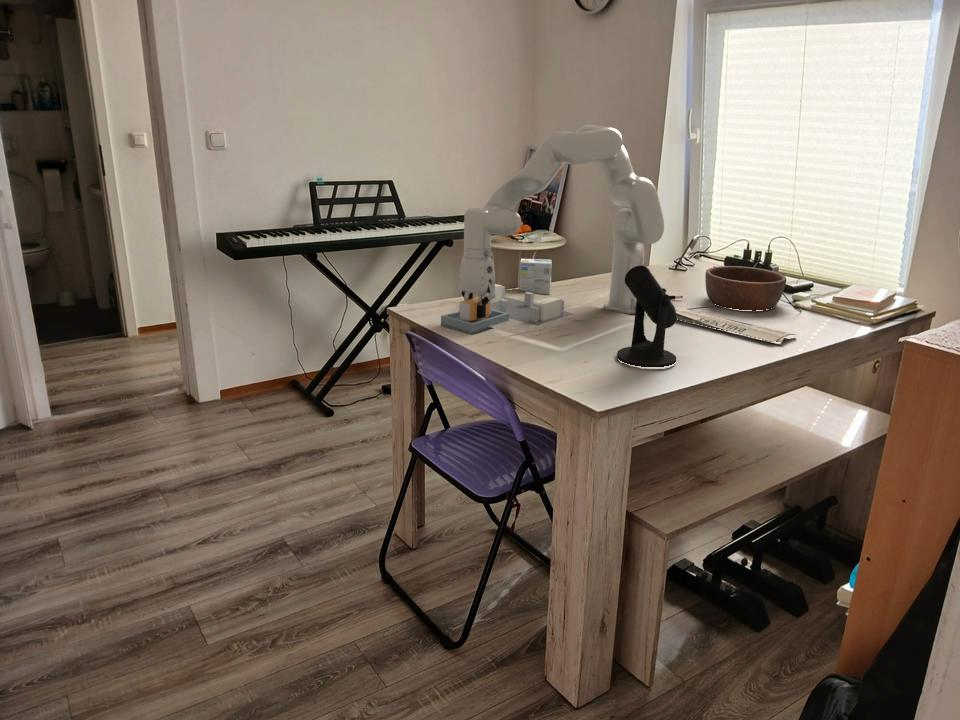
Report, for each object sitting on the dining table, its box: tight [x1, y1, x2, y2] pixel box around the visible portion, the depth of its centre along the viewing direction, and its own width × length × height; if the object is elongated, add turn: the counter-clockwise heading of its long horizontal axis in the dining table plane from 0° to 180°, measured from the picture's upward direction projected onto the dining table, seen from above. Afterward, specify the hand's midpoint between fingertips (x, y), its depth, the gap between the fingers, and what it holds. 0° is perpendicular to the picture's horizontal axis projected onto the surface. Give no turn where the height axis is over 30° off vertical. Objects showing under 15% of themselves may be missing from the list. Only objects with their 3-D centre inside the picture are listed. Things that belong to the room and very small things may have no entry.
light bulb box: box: [518, 258, 553, 295], centre depth 259 cm, size 11×7×11 cm, turn 84°
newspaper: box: [675, 308, 797, 343], centre depth 225 cm, size 35×12×4 cm, turn 46°
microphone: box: [616, 265, 677, 367], centre depth 193 cm, size 15×17×25 cm
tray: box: [440, 309, 510, 336], centre depth 222 cm, size 12×16×3 cm
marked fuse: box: [459, 297, 491, 322], centre depth 221 cm, size 4×10×5 cm, turn 139°
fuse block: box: [474, 285, 574, 326], centre depth 235 cm, size 30×18×5 cm, turn 49°
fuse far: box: [482, 283, 503, 303], centre depth 242 cm, size 4×10×5 cm, turn 139°
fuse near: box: [533, 296, 563, 321], centre depth 228 cm, size 4×10×5 cm, turn 139°
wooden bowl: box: [704, 265, 787, 311], centre depth 251 cm, size 25×25×10 cm
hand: (475, 315), depth 221 cm, fingers closed on marked fuse, 3 cm apart
